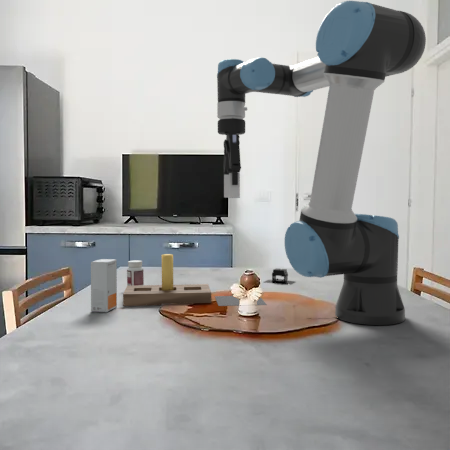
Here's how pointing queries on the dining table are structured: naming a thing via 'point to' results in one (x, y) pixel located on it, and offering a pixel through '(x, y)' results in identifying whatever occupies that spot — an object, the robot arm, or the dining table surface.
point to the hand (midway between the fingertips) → (231, 197)
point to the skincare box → (103, 285)
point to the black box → (283, 274)
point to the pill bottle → (135, 273)
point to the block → (166, 294)
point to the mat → (233, 301)
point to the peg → (167, 272)
